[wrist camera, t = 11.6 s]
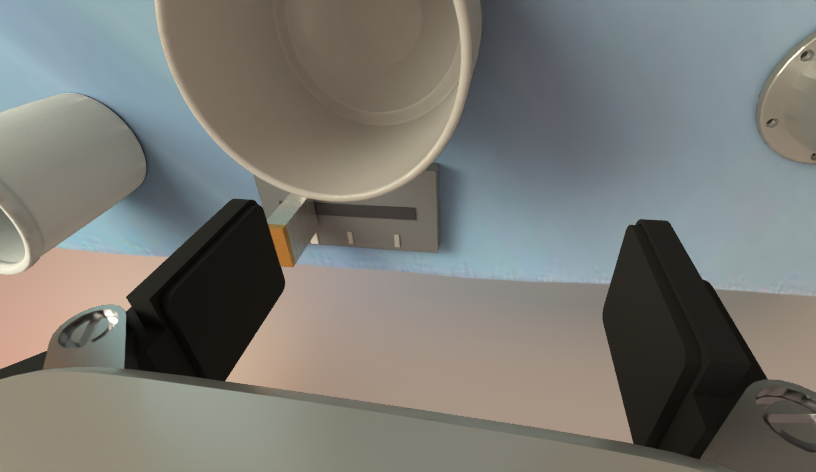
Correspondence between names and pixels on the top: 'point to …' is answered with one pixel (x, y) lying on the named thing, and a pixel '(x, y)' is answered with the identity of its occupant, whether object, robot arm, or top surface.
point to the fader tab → (293, 228)
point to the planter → (325, 85)
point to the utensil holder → (60, 173)
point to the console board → (375, 216)
